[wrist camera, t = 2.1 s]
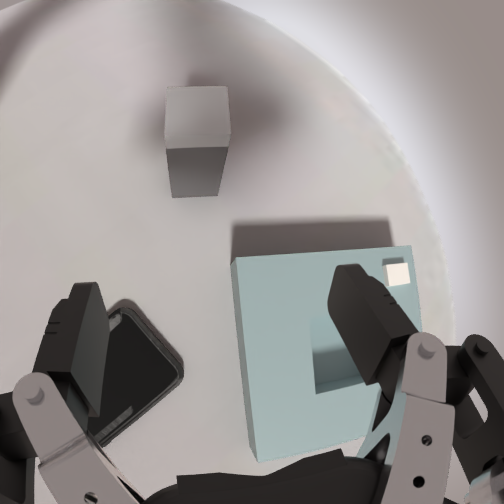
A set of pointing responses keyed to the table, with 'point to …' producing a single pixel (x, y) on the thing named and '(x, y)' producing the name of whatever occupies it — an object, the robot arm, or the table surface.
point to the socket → (306, 347)
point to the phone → (132, 375)
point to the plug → (196, 138)
